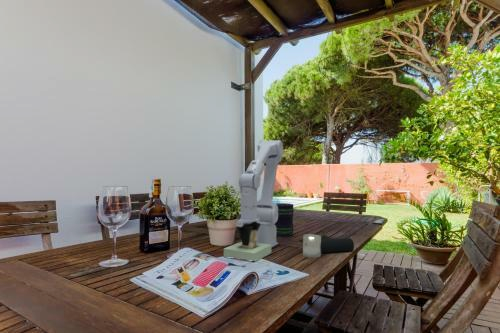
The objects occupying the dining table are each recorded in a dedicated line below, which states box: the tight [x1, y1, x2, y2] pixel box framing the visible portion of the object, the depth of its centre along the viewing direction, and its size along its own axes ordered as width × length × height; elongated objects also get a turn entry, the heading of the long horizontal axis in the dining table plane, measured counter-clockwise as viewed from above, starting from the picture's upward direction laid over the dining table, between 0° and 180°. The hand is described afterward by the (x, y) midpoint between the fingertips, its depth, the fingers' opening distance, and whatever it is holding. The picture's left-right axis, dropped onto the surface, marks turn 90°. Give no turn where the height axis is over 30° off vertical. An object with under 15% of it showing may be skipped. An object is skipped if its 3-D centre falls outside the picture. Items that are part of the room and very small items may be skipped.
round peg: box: [302, 233, 322, 259], centre depth 110 cm, size 6×6×7 cm
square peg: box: [241, 230, 257, 249], centre depth 109 cm, size 4×4×7 cm
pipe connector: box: [319, 234, 355, 254], centre depth 119 cm, size 12×5×15 cm
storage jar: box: [274, 202, 295, 239], centre depth 144 cm, size 10×10×15 cm
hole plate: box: [223, 241, 272, 261], centre depth 109 cm, size 14×12×3 cm
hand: (248, 244), depth 109 cm, fingers closed on square peg, 4 cm apart
